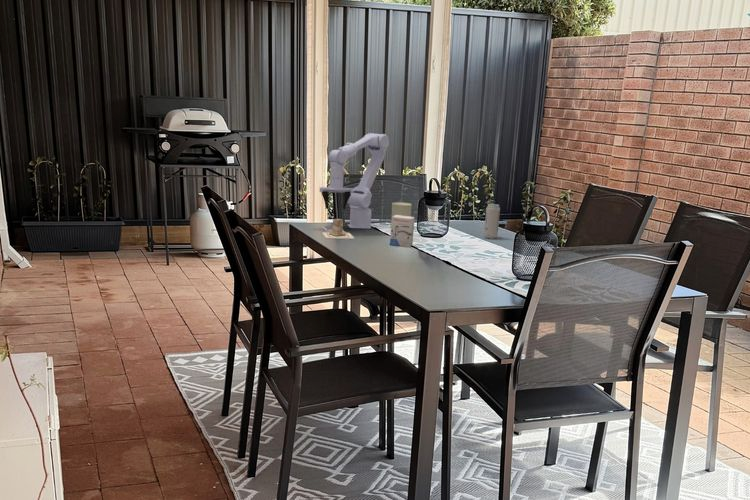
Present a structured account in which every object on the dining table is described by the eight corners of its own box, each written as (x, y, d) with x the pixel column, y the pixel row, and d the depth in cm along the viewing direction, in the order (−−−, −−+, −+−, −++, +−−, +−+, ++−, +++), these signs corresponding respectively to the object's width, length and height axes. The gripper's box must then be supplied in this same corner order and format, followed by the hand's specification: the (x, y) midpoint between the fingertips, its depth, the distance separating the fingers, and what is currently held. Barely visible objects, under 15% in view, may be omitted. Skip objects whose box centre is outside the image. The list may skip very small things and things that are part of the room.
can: (390, 226, 317) (391, 200, 314) (409, 227, 317) (411, 201, 314) (390, 229, 307) (392, 203, 305) (410, 230, 308) (412, 204, 305)
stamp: (338, 233, 288) (338, 218, 286) (345, 235, 284) (346, 220, 283) (328, 234, 284) (329, 219, 283) (336, 236, 281) (337, 220, 279)
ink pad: (340, 229, 301) (340, 226, 300) (343, 232, 293) (343, 229, 293) (322, 228, 299) (322, 226, 299) (325, 232, 291) (325, 229, 291)
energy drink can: (483, 236, 303) (486, 203, 300) (496, 237, 303) (499, 204, 300) (484, 238, 298) (487, 205, 295) (497, 239, 297) (501, 206, 294)
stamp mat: (349, 233, 291) (349, 232, 291) (354, 239, 280) (354, 237, 280) (321, 233, 288) (321, 232, 288) (325, 238, 277) (325, 237, 277)
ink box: (389, 245, 271) (391, 216, 269) (392, 243, 276) (394, 214, 274) (410, 247, 269) (412, 218, 267) (413, 245, 274) (415, 216, 271)
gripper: (350, 177, 299) (349, 207, 302) (318, 176, 295) (317, 207, 298) (354, 179, 293) (353, 210, 295) (321, 178, 288) (320, 209, 291)
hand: (335, 208), depth 296 cm, fingers open, 7 cm apart
